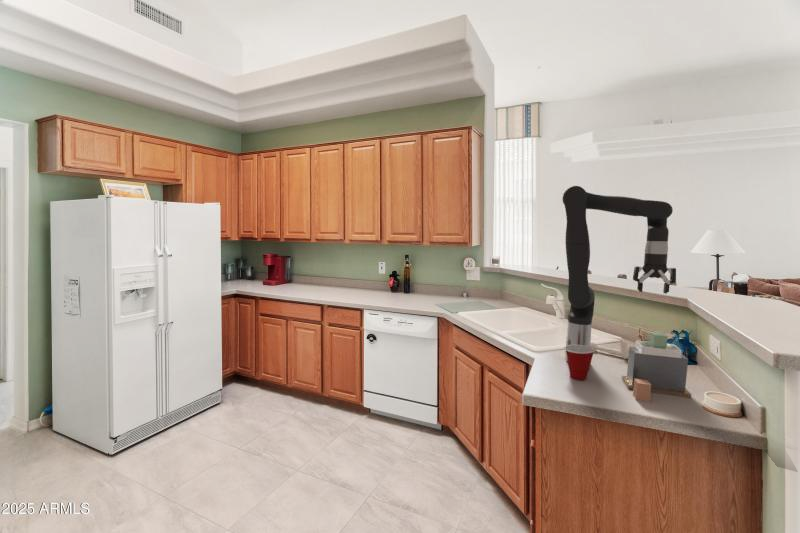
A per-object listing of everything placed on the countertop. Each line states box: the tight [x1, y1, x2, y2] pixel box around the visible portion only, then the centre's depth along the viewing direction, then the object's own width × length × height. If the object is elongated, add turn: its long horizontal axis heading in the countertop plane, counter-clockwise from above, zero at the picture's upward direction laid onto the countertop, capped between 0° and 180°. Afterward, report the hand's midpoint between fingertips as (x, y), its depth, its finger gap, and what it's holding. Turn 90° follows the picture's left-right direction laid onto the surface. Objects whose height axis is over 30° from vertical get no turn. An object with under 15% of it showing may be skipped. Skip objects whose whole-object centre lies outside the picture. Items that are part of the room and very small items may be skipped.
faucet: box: [590, 336, 629, 360], centre depth 172 cm, size 4×18×10 cm, turn 43°
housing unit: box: [621, 340, 692, 398], centre depth 135 cm, size 19×10×16 cm, turn 71°
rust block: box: [632, 379, 652, 403], centre depth 126 cm, size 4×4×6 cm
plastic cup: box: [563, 345, 596, 381], centre depth 143 cm, size 11×11×12 cm
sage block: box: [649, 331, 668, 349], centre depth 134 cm, size 4×4×6 cm
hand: (652, 292), depth 150 cm, fingers open, 8 cm apart
